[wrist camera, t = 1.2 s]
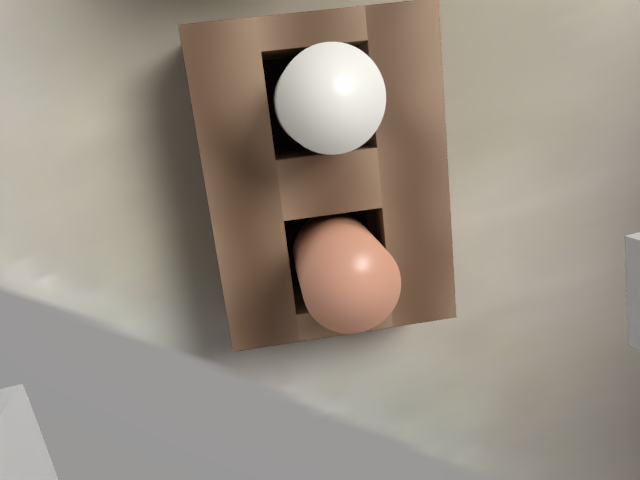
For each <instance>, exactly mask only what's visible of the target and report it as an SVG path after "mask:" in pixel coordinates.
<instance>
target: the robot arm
mask: <svg viewBox="0 0 640 480" xmlns="http://www.w3.org/2000/svg"><path fill="white" fill-rule="evenodd" d="M625 253H626V282H627V312H628V342H629V346H631V347H633V348H635V349H636V350H638V351H640V232H638V233H634V234H630V235H626V236H625ZM0 480H58V477H57V475H56V472H55V469H54V466H53V464H52V461H51V458H50V456H49V453H48V450H47V448H46V445H45V442H44V440H43V437H42V434H41V431H40V429H39V426H38V423H37V421H36V418H35V415H34V413H33V410H32V407H31V405H30V402H29V399H28V397H27V394H26V391H25V388H24V386H23V384H20V385H15V386H11V387H8V388H3V389H0Z"/></svg>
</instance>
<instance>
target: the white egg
mask: <svg viewBox="0 0 640 480" xmlns="http://www.w3.org/2000/svg"><path fill="white" fill-rule="evenodd" d="M273 107H274V112H275V115H276V118H277V120H278V122H279V124H280V126H281V127H282V129H283V130H284V131H285V132H286V133H287V134H288V135H289V136H290V137H291V138H293V139H294V140H295V141H297V142H298V143H299V144H301V145H302V146H304V147H305V148H307V149H309V150H311V151H314V152H317V153H321V154H328V155H336V154H343V153H347V152H350V151H352V150H354V149H357V148H358V147H360V146H361V145H363V144H364V143H365V142H367V141H368V140H369V139H370V138H371V137H372V136H373V134H374V133H375V132H376V130H377V129H378V127H379V125H380V123H381V121H382V118H383V116H384V112H385V107H386V90H385V84H384V81H383V78H382V75H381V73H380V71H379V69H378V67H377V66H376V64H375V63H374V62H373V61H372V59H371V58H370V57H369V56H368V55H367V54H365V53H364V52H363V51H361V50H360V49H358V48H356V47H354V46H352V45H349V44H346V43H342V42H323V43H318V44H315V45H312V46H310V47H308V48H306V49H305V50H303V51H302V52H300V53H299V54H298V55H297V56H296V57H294V58H293V60H292V61H291V62H290V63H289V65H288V66H287V67H286V69H285V70H284V72H283V73H282V75H281V76H280V78H279V79H278V82H277V84H276V87H275V90H274V95H273Z"/></svg>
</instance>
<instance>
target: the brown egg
mask: <svg viewBox="0 0 640 480" xmlns="http://www.w3.org/2000/svg"><path fill="white" fill-rule="evenodd" d="M293 259H294V263H295V267H296V271H297V275H298V279H299V283H300V287H301V291H302V295H303V299H304V302H305V305H306V307H307V309H308V311H309V313H310V314H311V316H312V317H313V318H314V319H315V320H316V321H317V322H318V323H319V324H321V325H322V326H324V327H325V328H327V329H329V330H332V331H335V332H338V333H344V334H353V333H360V332H364V331H367V330H370V329H372V328H374V327H376V326H377V325H379V324H380V323H381V322H383V321H384V320H385V319H386V318H387V317H388V316H389V315H390V314H391V312H392V311H393V309H394V308H395V306H396V304H397V302H398V299H399V296H400V292H401V276H400V271H399V268H398V266H397V263H396V261H395V260H394V258H393V257H392V256H391V254H390V253H389V252H388V251H387V250H386V249H385V248H384V247H383V246H382V245H381V243H380V242H379V241H378V240H377V239H376V238H375V237H374V236H373V235H372V234H371V233H370V232H369V231H368V230H367V229H366V227H365V226H364V225H363V224H362V223H361V222H359V221H358V220H357V219H355V218H354V217H352V216H350V215H347V214H343V213H340V214H332V215H325V216H318V217H315V218H313V219H311V220H310V221H309V222H307V223H306V224H305V225H304V226H303V227H302V229H301V230H300V232H299V233H298V235H297V237H296V240H295V242H294V247H293Z"/></svg>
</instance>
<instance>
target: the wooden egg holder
mask: <svg viewBox="0 0 640 480" xmlns="http://www.w3.org/2000/svg"><path fill="white" fill-rule="evenodd" d="M178 27H179V33H180V39H181V45H182V51H183V57H184V62H185V68H186V74H187V80H188V86H189V92H190V98H191V104H192V110H193V116H194V122H195V128H196V134H197V140H198V146H199V152H200V158H201V164H202V170H203V176H204V182H205V188H206V194H207V200H208V206H209V212H210V217H211V223H212V229H213V235H214V241H215V247H216V253H217V259H218V265H219V271H220V277H221V283H222V289H223V295H224V301H225V307H226V313H227V319H228V325H229V331H230V337H231V343H232V349H233V352H235V351H242V350H248V349H254V348H261V347H267V346H274V345H280V344H287V343H293V342H300V341H306V340H313V339H319V338H325V337H332V336H338V335H345V334H344V333H338V332H335V331H332V330H329V329H327V328H325V327H324V326H322V325H321V324H319V323H318V322H317V321H316V320H315V319H314V318H313V317H312V316H311V314H310V313H309V311H308V309H307V307H306V305H305V302H304V299H303V295H302V291H301V287H300V286H297V287H292V279H291V272H290V264H289V257H288V250H287V242H286V235H285V227H284V221H288V220H295V219H303V218H310V217H318V216H325V215H332V214H340V213H347V212H354V211H362V210H366V211H367V222H368V231H369V232H370V233H371V234H372V235H373V236H374V237H375V238H376V239H377V240H378V241H379V242H380V243H381V245H382V246H383V247H384V248H385V249H386V250H387V251H388V252H389V253H390V254H391V256H392V257H393V258H394V260H395V261H396V263H397V266H398V268H399V271H400V276H401V292H400V296H399V299H398V302H397V304H396V306H395V308H394V309H393V311H392V312H391V314H390V315H389V316H388V317H387V318H386V319H385V320H384V321H383V322H381V323H380V324H379V325H377V326H376V327H374V328H372V329H370V330H367V331H371V330H377V329H383V328H390V327H396V326H403V325H409V324H416V323H422V322H429V321H435V320H442V319H448V318H454V317H456V304H455V285H454V267H453V249H452V231H451V213H450V195H449V177H448V159H447V141H446V123H445V105H444V86H443V68H442V50H441V32H440V14H439V0H414V1H405V2H395V3H385V4H375V5H366V6H356V7H346V8H337V9H327V10H317V11H308V12H298V13H288V14H278V15H269V16H259V17H249V18H240V19H230V20H220V21H210V22H201V23H191V24H181V25H178ZM323 42H342V43H346V44H349V45H352V46H354V47H356V48H358V49H360V50H361V51H363V52H364V53H365V54H367V55H368V56H369V57H370V58H371V59H372V61H373V62H374V63H375V64H376V66H377V67H378V69H379V71H380V73H381V75H382V78H383V81H384V84H385V90H386V107H385V112H384V116H383V118H382V121H381V123H380V125H379V127H378V129H377V130H376V132H375V133H374V134H373V136H372V137H371V138H370V139H369V140H368V141H367V142H365V143H364V144H363V145H361V146H360V147H358V148H357V149H354V150H352V151H350V152H347V153H343V154H336V155H328V154H321V153H317V152H314V151H311V150H309V149H304V150H296V151H288V152H280V153H275V152H274V145H273V137H272V130H271V122H270V115H269V107H268V100H267V92H266V85H265V78H264V70H263V63H262V60H269V59H278V58H287V57H296V56H297V55H298V54H299V53H300V52H302V51H303V50H305V49H306V48H308V47H310V46H312V45H315V44H318V43H323Z"/></svg>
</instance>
